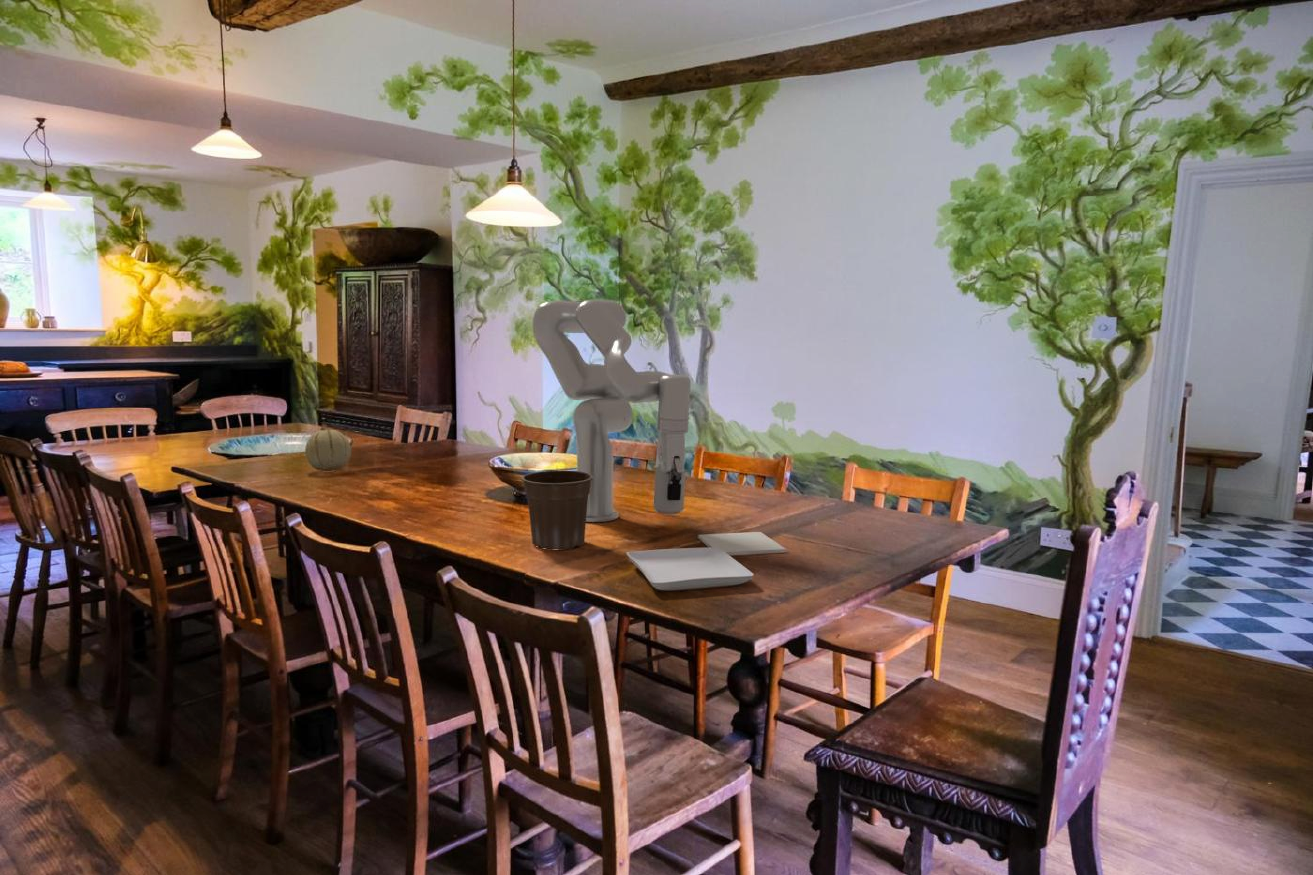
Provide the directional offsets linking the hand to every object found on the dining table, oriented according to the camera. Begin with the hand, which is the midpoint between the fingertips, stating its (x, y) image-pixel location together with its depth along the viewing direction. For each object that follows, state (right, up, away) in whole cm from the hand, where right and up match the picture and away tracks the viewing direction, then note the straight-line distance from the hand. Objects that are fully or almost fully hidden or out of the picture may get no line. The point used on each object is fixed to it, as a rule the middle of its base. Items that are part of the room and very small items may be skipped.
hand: (669, 495), depth 200 cm
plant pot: (-26, -11, -11) cm, 30 cm away
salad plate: (+3, -15, -34) cm, 38 cm away
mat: (+17, -11, -10) cm, 22 cm away
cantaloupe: (-115, +2, +77) cm, 139 cm away
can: (0, -4, +1) cm, 4 cm away
